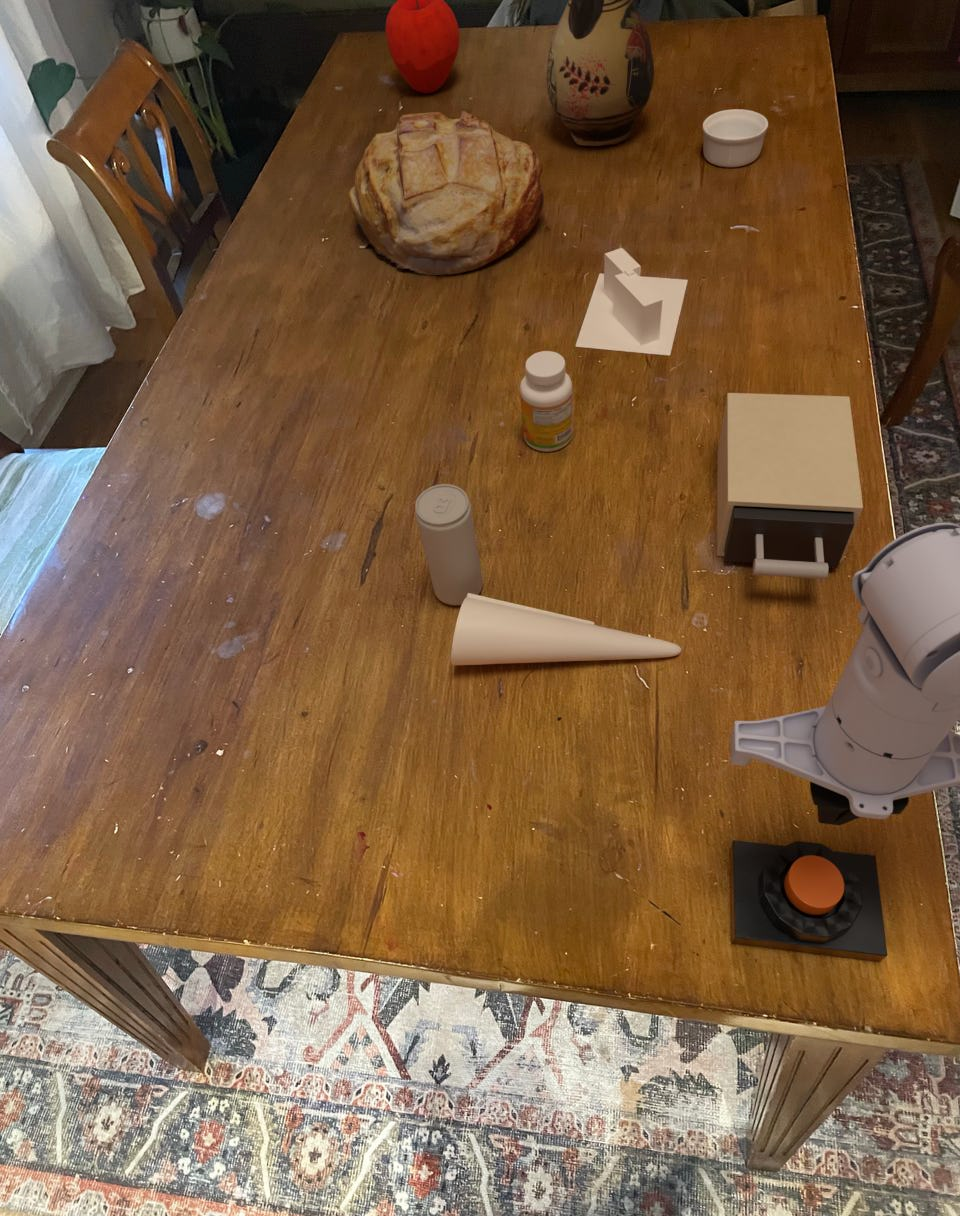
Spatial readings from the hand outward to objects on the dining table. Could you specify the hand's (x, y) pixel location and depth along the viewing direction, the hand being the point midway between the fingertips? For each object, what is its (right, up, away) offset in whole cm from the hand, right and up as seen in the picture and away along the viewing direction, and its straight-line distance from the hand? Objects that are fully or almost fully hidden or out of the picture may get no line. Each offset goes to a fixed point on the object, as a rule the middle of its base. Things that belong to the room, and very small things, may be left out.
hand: (828, 809), depth 56 cm
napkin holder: (-4, +49, +48) cm, 69 cm away
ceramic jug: (-5, +85, +74) cm, 113 cm away
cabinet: (+6, +24, +28) cm, 37 cm away
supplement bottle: (-15, +32, +37) cm, 51 cm away
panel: (0, -8, +6) cm, 10 cm away
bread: (-27, +67, +63) cm, 96 cm away
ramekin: (+13, +78, +67) cm, 104 cm away
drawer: (+6, +21, +25) cm, 33 cm away
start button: (0, -6, +3) cm, 7 cm away
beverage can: (-25, +15, +26) cm, 39 cm away
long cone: (-15, +8, +20) cm, 26 cm away
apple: (-31, +102, +89) cm, 138 cm away
